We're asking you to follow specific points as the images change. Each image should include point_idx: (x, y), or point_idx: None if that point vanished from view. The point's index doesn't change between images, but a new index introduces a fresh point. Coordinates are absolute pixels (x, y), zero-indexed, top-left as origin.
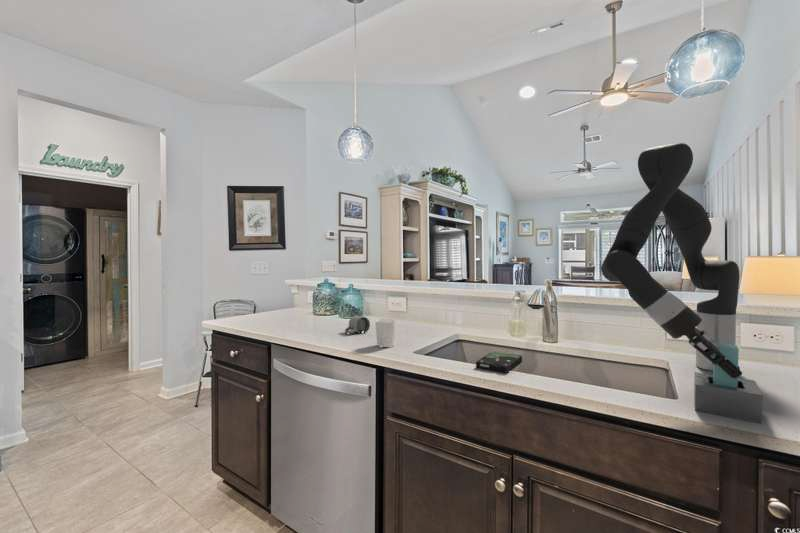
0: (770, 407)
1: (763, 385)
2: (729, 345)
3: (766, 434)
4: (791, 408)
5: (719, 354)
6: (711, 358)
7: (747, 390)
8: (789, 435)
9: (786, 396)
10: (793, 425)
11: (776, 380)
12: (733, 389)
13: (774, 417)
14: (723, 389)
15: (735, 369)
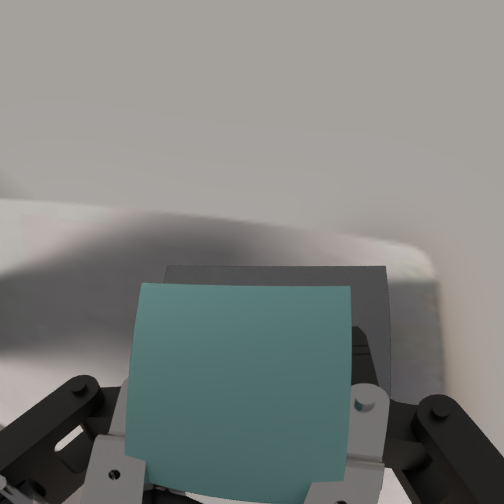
0: (188, 258)
1: (31, 247)
2: (192, 355)
3: (437, 296)
4: (171, 216)
5: (478, 435)
6: (435, 477)
7: (354, 310)
8: (407, 251)
9: (85, 215)
10: (320, 231)
11: (6, 222)
12: (377, 360)
13: (279, 262)
14: (389, 395)
15: (366, 343)
